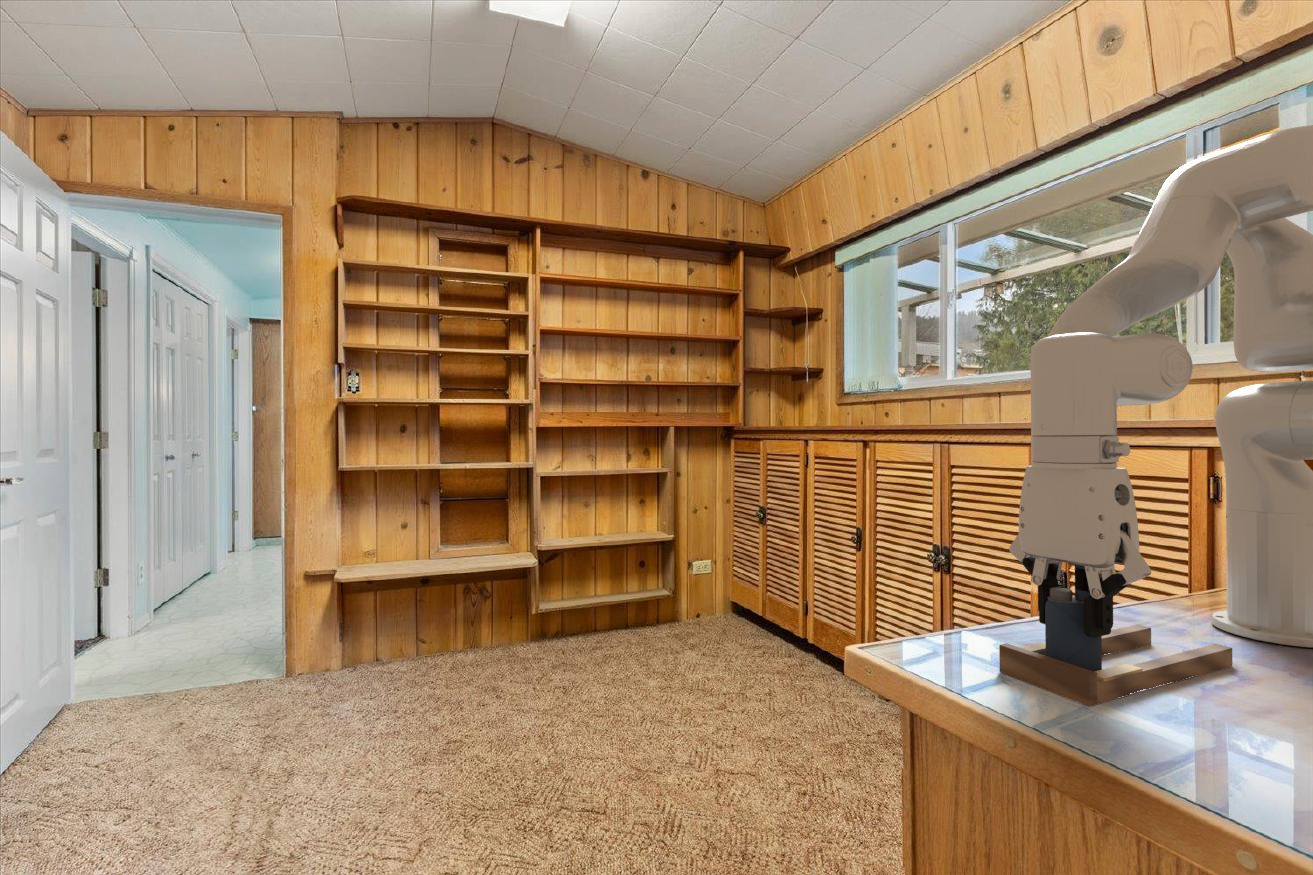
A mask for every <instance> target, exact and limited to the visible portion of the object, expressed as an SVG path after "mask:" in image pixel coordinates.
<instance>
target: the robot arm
mask: <svg viewBox="0 0 1313 875" xmlns="http://www.w3.org/2000/svg"><path fill="white" fill-rule="evenodd" d="M1309 212H1313V124H1312V125H1305V126H1304V125H1303V126H1296V127H1295V126H1294V127H1290V128H1285V129H1282V130H1277V131H1274V132H1270V133H1268V134H1265V135H1262V136H1258V137H1256V138H1253V139H1251V140H1248V141H1244V142H1242V143H1239V144H1236V145H1233V146H1231V147H1227V148H1225V149H1222V150H1219V151H1216V152H1213V153H1210V154H1207V155H1204V156H1202V157H1199V158H1197V159H1194V160H1192V161H1190V162H1187V163H1186V164H1184V165H1182V166H1180V167H1179V168H1178V169H1176V170H1175V171H1174V172H1172V174H1170V176H1169V177H1168V178H1167V179H1166V180H1165V182H1164V183H1163V185H1162V187H1161V189H1160V190H1159V192H1158V194H1157V196H1156V199H1155V201H1154V203H1153V204H1152V207H1151V208H1150V210H1149V213H1148V214H1147V217H1146V218H1145V220H1144V223H1143V225H1142V226H1141V229H1140V231H1139V234H1138V235H1137V237H1136V238H1135V241H1134V243H1133V245H1132V248H1131V249H1130V251H1129V254H1128V256H1127V257H1126V258H1125V259H1124V260H1123V261H1122V262H1121V263H1119V264H1118V265H1117V266H1115V267H1114V268H1112V269H1111V270H1110V271H1109V272H1107V273H1105V275H1104V276H1102V277H1101V278H1100V279H1099V280H1097V281H1096V282H1095V283H1093V285H1092V286H1090V287H1089V288H1087V290H1085V292H1083V293H1082V294H1081V295H1079V297H1077V298H1076V299H1075V300H1074V301H1073V302H1071V304H1070V305H1068V307H1067V308H1066V309H1065V310H1064V311H1063V312H1062V313H1061V315H1059V318H1057V321H1056V322H1055V323H1054V326H1053V327H1052V329H1051V331H1050V333H1049V334H1048V336H1046V337H1043V338H1041V339H1038V340H1037V341H1036V342H1035V343H1034V344H1033V345H1032V346H1031V347H1032V348H1031V350H1030V435H1031V436H1030V457H1031V458H1030V462H1031V464H1030V465H1026V468H1025V471H1024V476H1023V480H1022V485H1021V486H1022V487H1021V491H1020V501H1019V510H1018V534H1017V535H1016V537H1015V538H1014V540H1013V541H1012V542H1011V544H1010V546H1009V547H1008V550H1009V552H1010V553H1011V555H1012V556H1014V558H1015V559H1017V560H1018V561H1019V562H1021V564H1022V565H1023V567H1024V568H1025V570H1026V571H1027V572H1028V574H1030V576H1031V581H1032V583H1033V584H1034V585H1035V586H1037V610H1038V621H1039V623H1040V624H1043V625H1045V605H1046V602H1047V601H1048V597H1049V596H1050V588H1052V587H1060V588H1065V587H1064V584H1063V583H1059V580H1060V576H1061V573H1062V572H1061V571H1062V565H1063V563H1067V564H1072V565H1075V564H1077V565H1082V566H1085V571H1086V576H1087V580H1088V585H1089V590H1090V596H1088V597H1085V599H1084V633H1085V634H1086V636H1088V637H1092V638H1094V637H1099V636H1104V635H1109V634H1110V633H1111V630H1112V629H1113V627H1114V597H1116V596H1118V595H1119V594H1120V592H1122V591H1123V590H1125V588H1127V587H1128V586H1130V585H1131V584H1132V583H1136V582H1137V581H1141V580H1142V579H1145V578H1147V577H1149V576H1150V575H1152V569H1151V568H1150V566H1149V564H1148V563H1147V561H1146V560H1145V558H1144V557H1143V555H1142V554H1141V552H1140V536H1139V522H1138V513H1137V506H1136V501H1135V494H1134V491H1133V485H1132V482H1131V479H1130V476H1129V471H1128V468H1126V467H1118V463H1119V460H1120V457H1128V456H1129V455H1130V453H1131V447H1130V446H1131V445H1130V444H1129V443H1127V442H1120V441H1119V436H1117V435H1118V423H1117V422H1118V407H1125V406H1145V405H1154V404H1160V403H1163V402H1165V401H1169V400H1171V399H1173V398H1175V397H1176V396H1178V395H1179V394H1181V392H1183V391H1184V390H1185V389H1186V387H1187V386H1188V385H1189V383H1190V381H1191V378H1192V374H1193V370H1194V369H1193V361H1192V357H1191V354H1190V352H1189V351H1188V349H1187V348H1186V347H1185V345H1184V344H1183V343H1181V341H1178V340H1177V339H1176V338H1174V337H1171V336H1169V335H1166V334H1164V333H1163V334H1162V333H1154V332H1148V333H1147V332H1145V333H1136V334H1129V335H1119V334H1120V333H1121V332H1123V331H1125V330H1126V329H1128V328H1130V327H1131V326H1133V325H1135V324H1137V323H1138V322H1141V321H1143V320H1145V319H1147V318H1149V317H1150V318H1151V317H1152V316H1154V315H1155V316H1156V315H1157V314H1159V313H1161V312H1164V311H1166V310H1169V309H1170V308H1173V307H1175V306H1176V305H1178V304H1179V303H1182V302H1184V301H1186V300H1188V299H1189V298H1191V297H1193V296H1195V295H1197V294H1199V293H1200V292H1201V291H1203V290H1204V289H1206V288H1207V287H1208V286H1209V285H1210V284H1211V283H1212V282H1213V280H1214V279H1215V277H1216V276H1217V273H1218V270H1219V269H1220V266H1221V264H1222V262H1223V260H1224V257H1225V255H1226V254H1227V257H1229V259H1230V262H1231V264H1232V267H1233V276H1234V298H1233V300H1234V302H1233V303H1234V305H1233V306H1234V307H1233V334H1232V335H1233V337H1232V338H1233V351H1234V356H1235V359H1236V361H1237V362H1238V365H1240V366H1242V368H1244V369H1247V370H1249V371H1251V372H1258V373H1282V372H1283V373H1284V372H1285V373H1286V372H1298V371H1302V372H1303V371H1313V234H1312V233H1311V232H1310V231H1308V230H1307V229H1304V228H1303V227H1301V226H1299V225H1298V224H1296V223H1294V222H1293V221H1290V219H1288V218H1289V217H1293V216H1298V215H1301V214H1305V213H1309ZM1117 335H1118V336H1117ZM1214 420H1215V421H1214V422H1215V428H1216V429H1215V431H1216V433H1217V438H1218V441H1219V445H1220V451H1221V454H1222V459H1223V465H1224V476H1225V493H1226V494H1225V497H1226V498H1225V502H1226V504H1225V506H1226V507H1225V511H1226V512H1225V515H1226V516H1225V518H1226V520H1225V522H1226V524H1225V525H1226V527H1225V528H1226V531H1225V532H1226V533H1225V534H1226V537H1225V538H1226V610H1225V609H1224V610H1219V611H1215V612H1213V613H1212V614H1211V623H1212V625H1213V626H1214V627H1216V628H1218V629H1220V630H1222V631H1225V632H1227V633H1228V634H1229V633H1230V634H1233V635H1237V636H1239V637H1243V638H1248V639H1252V640H1256V641H1262V642H1266V643H1273V644H1278V645H1285V646H1292V647H1301V648H1313V469H1311V467H1310V466H1308V464H1307V463H1306V461H1305V460H1307V461H1308V460H1309V461H1310V460H1311V461H1312V460H1313V380H1311V379H1310V380H1297V381H1284V382H1283V381H1281V382H1268V383H1266V382H1265V383H1257V384H1251V385H1249V386H1248V385H1247V386H1244V387H1240V388H1238V389H1235V390H1232V391H1231V392H1229V393H1228V394H1226V395H1225V396H1223V397H1222V399H1221V400H1220V402H1219V403H1218V405H1217V406H1216V408H1215V414H1214ZM1115 565H1122V566H1123V565H1124V566H1123V567H1124V568H1123V569H1122V570H1120V571H1118V572H1116V567H1115Z"/></svg>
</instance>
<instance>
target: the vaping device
mask: <svg viewBox="0 0 1313 875" xmlns="http://www.w3.org/2000/svg"><path fill="white" fill-rule="evenodd" d="M1088 596H1090V590H1089V585H1088V580H1087V576H1086V571H1085V566H1082V565H1077V564H1074V596H1073V590H1072V589H1070V588H1067V587H1064V588H1060V587H1052V588H1050V596H1049V597H1048V601H1047V602H1046V605H1045V624H1044V625H1045V628H1044V629H1045V632H1044V633H1045V634H1044V635H1045V637H1044V638H1045V641H1046V656H1048V657H1051V658H1054V659H1057V660H1060V661H1063V662H1066V663H1069V664H1072V665H1075V666H1078V667H1081V668H1084V669H1087V670H1090V671H1093V672H1094V671H1098V670H1102V669H1103V668H1102V667H1103V663H1102V662H1103V658H1102V657H1103V656H1102V636H1099V637H1094V638H1092V637H1088V636H1086V634H1085V633H1084V599H1085V597H1088Z"/></svg>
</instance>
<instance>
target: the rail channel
mask: <svg viewBox="0 0 1313 875" xmlns="http://www.w3.org/2000/svg"><path fill="white" fill-rule="evenodd" d="M1150 645H1152V627H1150V626H1146V625H1141V624H1133V625H1129V626H1123V627H1120V628H1113V629H1111V633H1110V634H1109V635H1104V636H1102V655H1104V654H1108V653H1112V654H1116V653H1120V652H1119V651H1121V652H1124V650H1125V651H1128V650H1127V649H1129V650H1133V649H1137V648H1136V647H1138V648H1141V646H1142V647H1146V646H1150ZM998 646H999V648H998V649H999V651H998V653H999V654H998V656H999V661H998V662H999V673H1000V674H1002V675H1003V674H1004V675H1005V676H1008V677H1011V678H1014V679H1015V680H1019V681H1022V682H1024V683H1027V684H1029V685H1030V686H1034V687H1038V688H1039V689H1042V690H1044V691H1048V692H1051V693H1053V694H1055V695H1057V696H1060V697H1063V698H1065V699H1069V700H1071V701H1073V702H1076V703H1078V704H1081V705H1084V706H1087V707H1092V706H1097V705H1099V704H1100V705H1101V704H1103V703H1106V702H1107V703H1108V702H1110V701H1114V700H1117V699H1116V698H1118V697H1122V696H1125V697H1127V696H1126V695H1129V694H1130V693H1134V692H1137V691H1140V690H1143V689H1149V688H1153V687H1156V686H1159V685H1163V684H1167V683H1170V682H1175V683H1177V682H1176V681H1178V682H1181V680H1182V681H1184V680H1183V679H1185V680H1187V679H1186V678H1189V677H1192V676H1196V675H1199V676H1202V675H1205V674H1210V673H1212V672H1216V671H1220V670H1223V669H1227V668H1231V667H1233V647H1230V646H1228V645H1227V646H1226V645H1222V644H1217V643H1214V644H1209V645H1206V646H1202V647H1199V648H1193V649H1190V650H1185V651H1182V652H1178V653H1175V654H1169V655H1166V656H1162V657H1159V658H1155V659H1151V660H1147V661H1142V662H1138V663H1135V664H1129V663H1122V664H1119V665H1116V666H1115V665H1114V666H1110V667H1108V668H1102V670H1098V671H1094V672H1093V671H1090V670H1087V669H1084V668H1081V667H1078V666H1075V665H1072V664H1069V663H1066V662H1063V661H1060V660H1057V659H1054V658H1051V657H1048V656H1046V640H1045V641H1041V642H1035V643H1032V644H1028V645H1027V644H1026V645H1022V646H1018V645H1017V646H1016V645H1014V644H1010V643H1008V642H1006V643H1001V644H999V645H998ZM1132 648H1133V649H1132ZM1115 652H1116V653H1115ZM1108 655H1109V654H1108ZM1104 656H1105V655H1104ZM1196 677H1197V676H1196ZM1192 678H1193V677H1192ZM1189 679H1190V678H1189ZM1167 685H1168V684H1167ZM1153 689H1154V688H1153ZM1129 696H1130V695H1129ZM1122 698H1123V697H1122ZM1118 699H1119V698H1118Z"/></svg>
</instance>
